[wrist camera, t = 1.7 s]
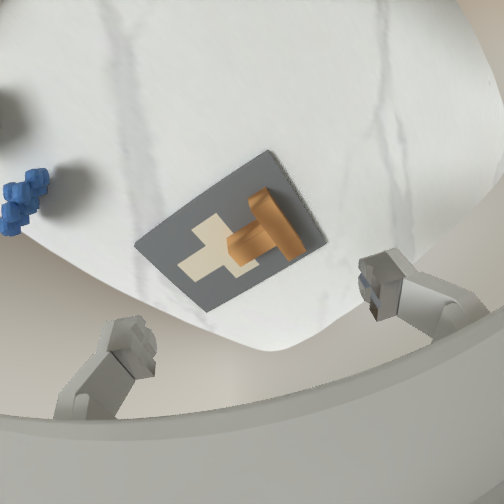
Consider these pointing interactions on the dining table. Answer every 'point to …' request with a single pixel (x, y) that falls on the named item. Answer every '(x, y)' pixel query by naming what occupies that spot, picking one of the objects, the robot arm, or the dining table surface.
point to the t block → (264, 232)
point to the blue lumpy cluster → (22, 200)
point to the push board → (225, 235)
